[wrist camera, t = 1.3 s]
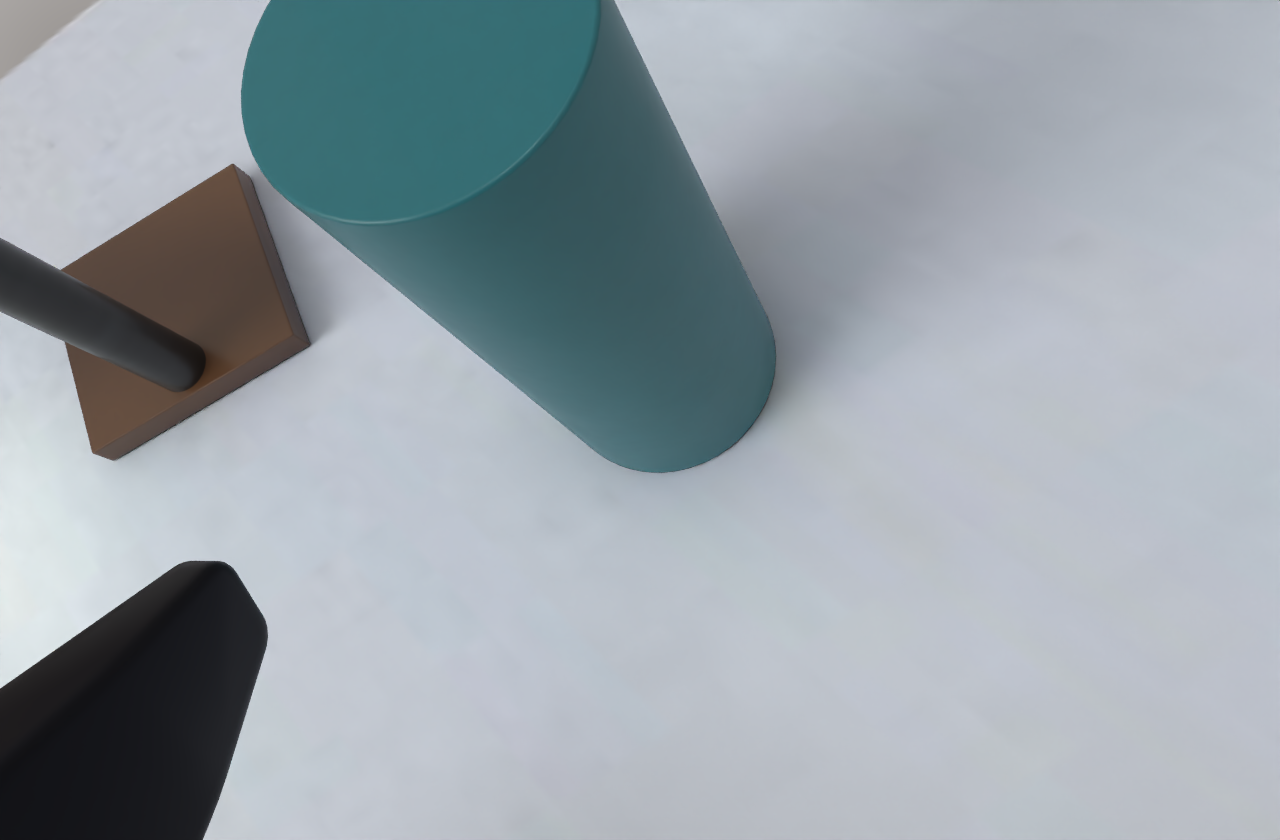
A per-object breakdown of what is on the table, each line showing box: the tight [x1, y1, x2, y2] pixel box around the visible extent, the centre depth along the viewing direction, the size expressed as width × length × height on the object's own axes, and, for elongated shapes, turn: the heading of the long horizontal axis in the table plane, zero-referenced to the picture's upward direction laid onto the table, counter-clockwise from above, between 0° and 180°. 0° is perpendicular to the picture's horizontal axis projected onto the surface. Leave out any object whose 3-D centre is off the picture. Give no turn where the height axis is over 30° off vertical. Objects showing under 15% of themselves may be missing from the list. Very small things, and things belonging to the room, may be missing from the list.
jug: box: [241, 0, 776, 473], centre depth 21 cm, size 10×5×12 cm, turn 5°
